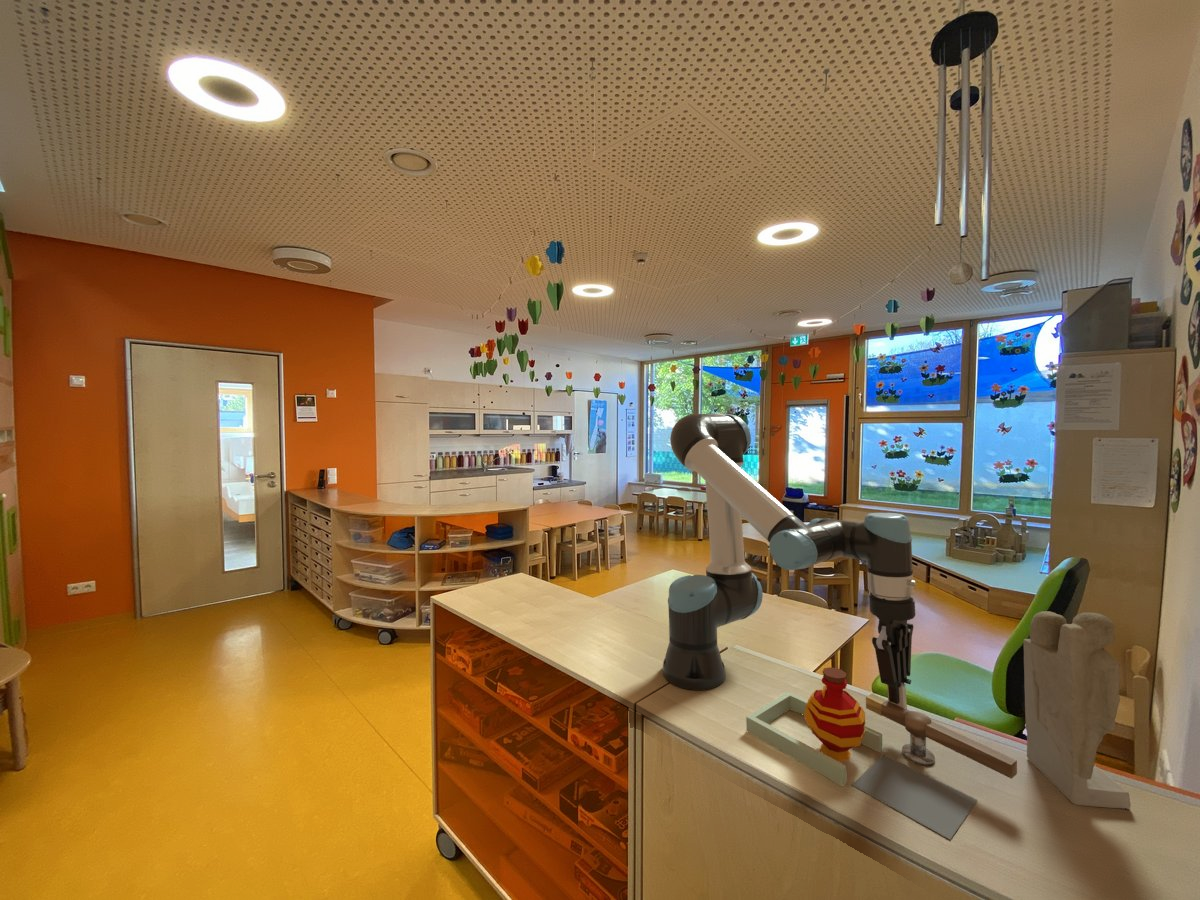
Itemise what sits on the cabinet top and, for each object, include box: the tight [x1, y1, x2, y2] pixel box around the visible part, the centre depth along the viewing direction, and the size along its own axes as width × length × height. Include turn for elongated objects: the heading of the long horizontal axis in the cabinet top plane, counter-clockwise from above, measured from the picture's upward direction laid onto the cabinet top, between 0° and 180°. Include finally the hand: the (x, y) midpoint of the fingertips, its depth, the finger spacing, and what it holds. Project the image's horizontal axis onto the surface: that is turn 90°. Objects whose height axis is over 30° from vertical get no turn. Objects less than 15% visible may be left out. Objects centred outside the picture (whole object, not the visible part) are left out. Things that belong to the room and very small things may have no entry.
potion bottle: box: [804, 667, 866, 762], centre depth 89 cm, size 10×10×15 cm
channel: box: [745, 691, 883, 787], centre depth 93 cm, size 19×15×3 cm
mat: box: [851, 754, 978, 841], centre depth 79 cm, size 14×12×1 cm
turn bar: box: [865, 693, 1018, 780], centre depth 85 cm, size 4×23×2 cm, turn 30°
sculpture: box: [1023, 610, 1131, 810], centre depth 79 cm, size 15×8×30 cm, turn 168°
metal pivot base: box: [901, 733, 936, 767], centre depth 88 cm, size 5×5×4 cm
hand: (898, 716), depth 92 cm, fingers closed
